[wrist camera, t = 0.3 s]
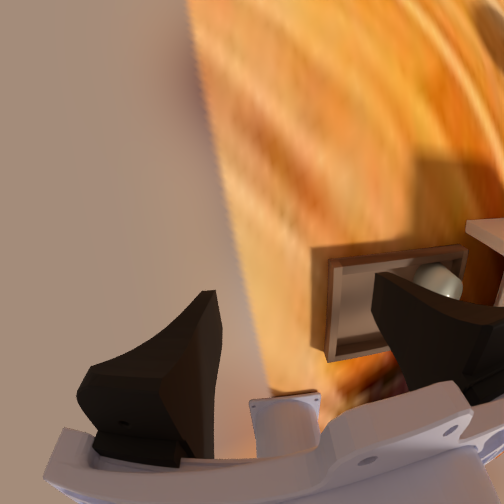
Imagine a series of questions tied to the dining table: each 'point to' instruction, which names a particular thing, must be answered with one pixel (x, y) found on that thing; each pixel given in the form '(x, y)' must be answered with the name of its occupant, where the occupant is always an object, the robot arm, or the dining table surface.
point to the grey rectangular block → (490, 242)
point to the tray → (361, 291)
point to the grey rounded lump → (438, 280)
